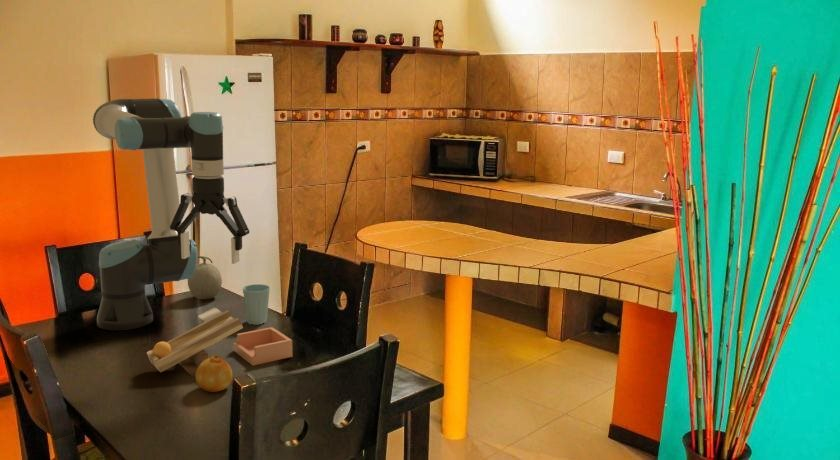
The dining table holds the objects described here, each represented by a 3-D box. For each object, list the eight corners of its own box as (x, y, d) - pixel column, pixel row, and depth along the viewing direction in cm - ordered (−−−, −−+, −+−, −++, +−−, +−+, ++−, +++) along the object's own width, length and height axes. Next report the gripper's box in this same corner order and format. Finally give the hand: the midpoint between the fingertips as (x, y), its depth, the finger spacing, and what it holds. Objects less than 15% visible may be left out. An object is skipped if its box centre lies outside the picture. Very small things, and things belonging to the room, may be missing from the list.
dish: (233, 350, 194) (233, 334, 194) (272, 342, 201) (272, 327, 200) (252, 365, 185) (252, 348, 184) (292, 356, 191) (292, 340, 190)
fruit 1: (228, 294, 244) (227, 249, 241) (213, 304, 233) (211, 258, 230) (199, 291, 246) (197, 247, 243) (182, 301, 235) (180, 256, 232)
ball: (152, 357, 179) (149, 342, 178) (169, 352, 182) (166, 337, 180) (157, 362, 176) (154, 347, 175) (174, 357, 178) (171, 342, 177)
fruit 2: (244, 374, 173) (226, 346, 172) (228, 391, 166) (208, 361, 165) (218, 387, 176) (200, 359, 175) (201, 404, 169) (182, 375, 168)
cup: (273, 324, 216) (272, 289, 214) (246, 327, 213) (245, 292, 210) (267, 316, 222) (266, 283, 220) (241, 319, 219) (240, 285, 217)
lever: (139, 350, 188) (135, 340, 187) (217, 310, 199) (213, 299, 198) (160, 372, 175) (155, 361, 174) (243, 327, 185) (238, 317, 184)
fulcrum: (175, 360, 187) (174, 342, 186) (202, 355, 191) (202, 337, 190) (191, 376, 178) (191, 357, 177) (220, 370, 182) (219, 351, 181)
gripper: (153, 175, 180) (157, 259, 185) (248, 182, 175) (250, 268, 180) (169, 170, 187) (173, 251, 192) (261, 177, 182) (263, 260, 187)
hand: (210, 260), depth 186 cm, fingers open, 13 cm apart
